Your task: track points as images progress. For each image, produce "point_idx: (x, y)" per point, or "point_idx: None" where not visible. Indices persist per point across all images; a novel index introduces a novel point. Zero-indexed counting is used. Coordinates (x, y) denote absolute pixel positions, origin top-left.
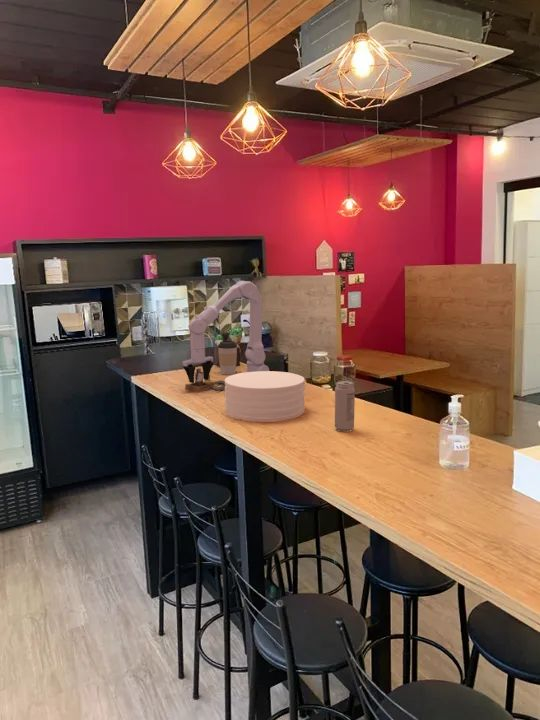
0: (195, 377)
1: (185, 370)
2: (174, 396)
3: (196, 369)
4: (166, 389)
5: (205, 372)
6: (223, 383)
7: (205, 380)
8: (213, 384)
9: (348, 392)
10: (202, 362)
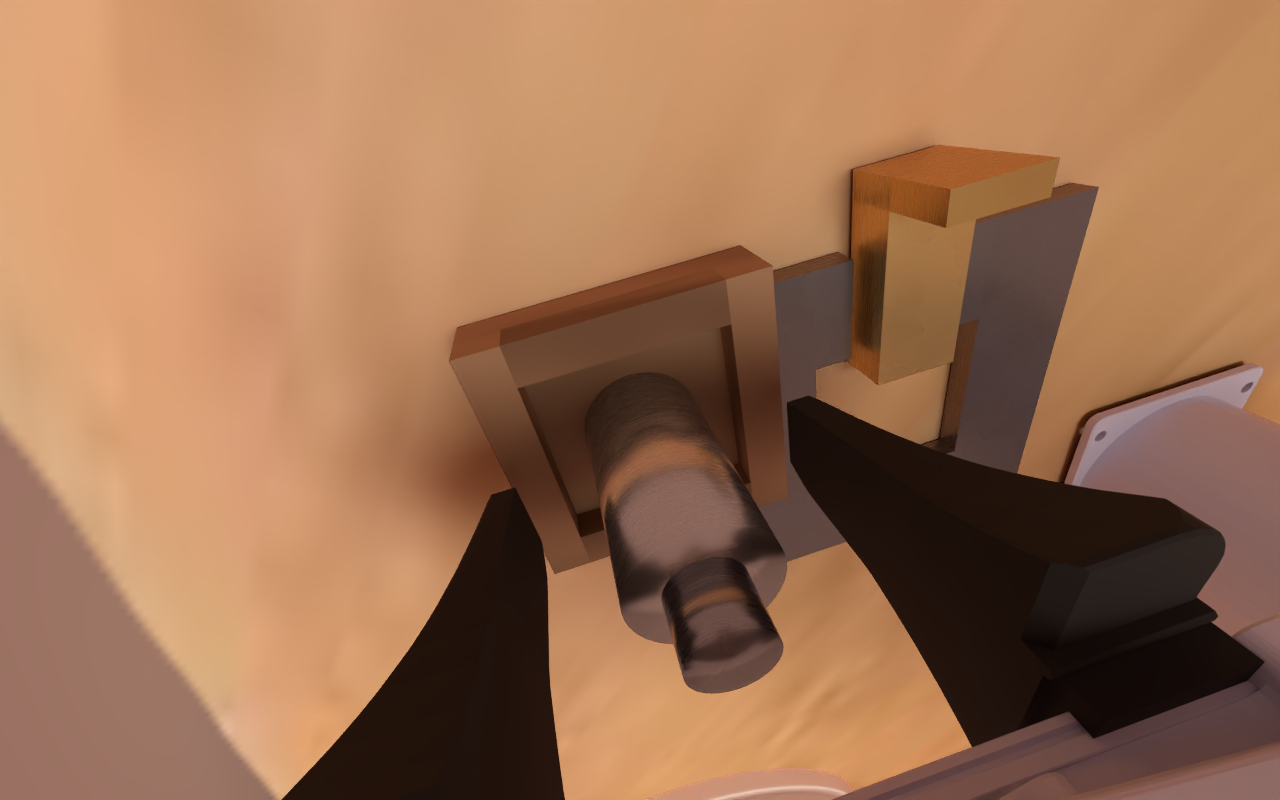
0: (608, 542)
1: (373, 715)
2: (224, 593)
3: (680, 663)
4: (68, 144)
5: (861, 508)
6: (968, 376)
7: (891, 207)
8: (860, 367)
9: None
10: (943, 791)
